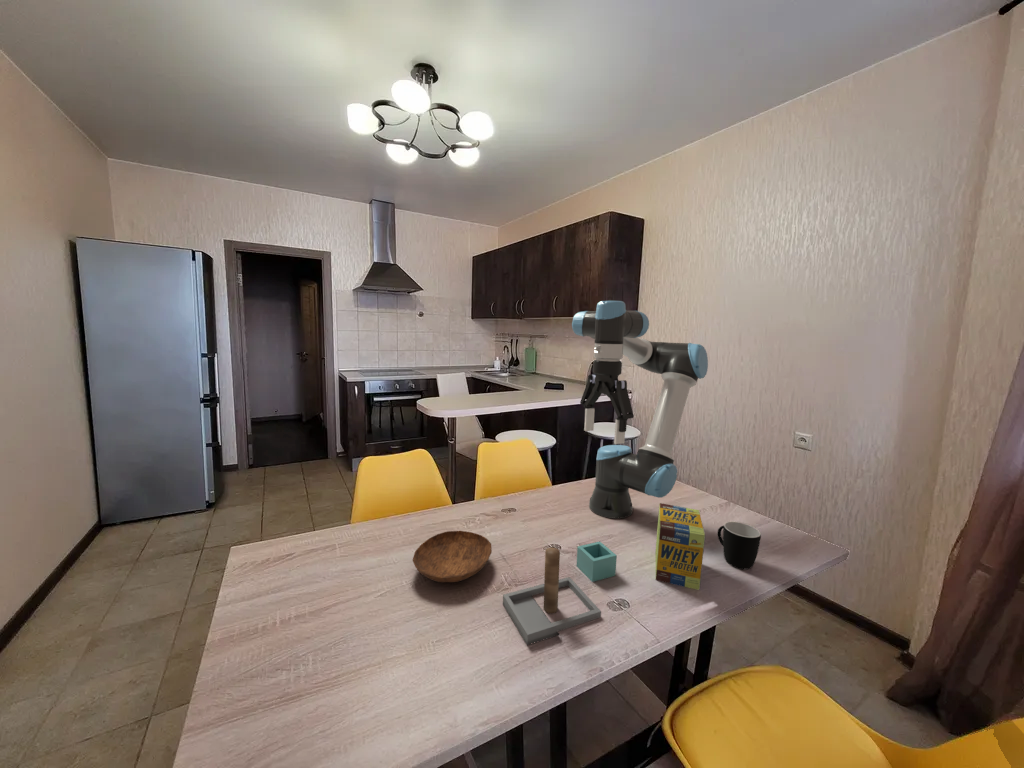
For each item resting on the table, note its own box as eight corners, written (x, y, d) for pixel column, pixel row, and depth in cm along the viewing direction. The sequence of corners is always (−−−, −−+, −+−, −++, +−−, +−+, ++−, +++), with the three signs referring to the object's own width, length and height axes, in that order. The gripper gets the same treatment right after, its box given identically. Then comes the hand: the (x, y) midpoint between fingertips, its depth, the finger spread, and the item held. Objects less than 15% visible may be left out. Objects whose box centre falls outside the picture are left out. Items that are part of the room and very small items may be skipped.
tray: (502, 604, 91) (503, 594, 91) (569, 585, 99) (569, 576, 98) (527, 645, 80) (527, 634, 79) (600, 621, 87) (601, 611, 87)
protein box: (654, 584, 100) (659, 526, 98) (655, 552, 115) (659, 502, 112) (699, 594, 97) (705, 535, 95) (694, 560, 111) (699, 508, 109)
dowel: (541, 606, 90) (542, 549, 88) (553, 602, 91) (555, 546, 89) (547, 615, 87) (549, 557, 85) (560, 611, 88) (562, 553, 86)
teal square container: (576, 569, 105) (577, 546, 104) (598, 563, 108) (599, 541, 107) (591, 585, 99) (593, 561, 98) (615, 579, 102) (616, 555, 101)
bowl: (502, 554, 112) (502, 538, 111) (469, 604, 91) (469, 585, 90) (441, 540, 118) (441, 525, 117) (397, 585, 97) (396, 566, 97)
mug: (764, 569, 108) (769, 534, 106) (739, 575, 105) (743, 539, 103) (728, 546, 119) (731, 514, 118) (704, 551, 116) (708, 518, 115)
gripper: (570, 356, 115) (567, 426, 118) (627, 364, 93) (621, 451, 96) (592, 356, 118) (588, 425, 121) (652, 363, 96) (645, 448, 99)
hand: (603, 436), depth 108 cm, fingers open, 13 cm apart
